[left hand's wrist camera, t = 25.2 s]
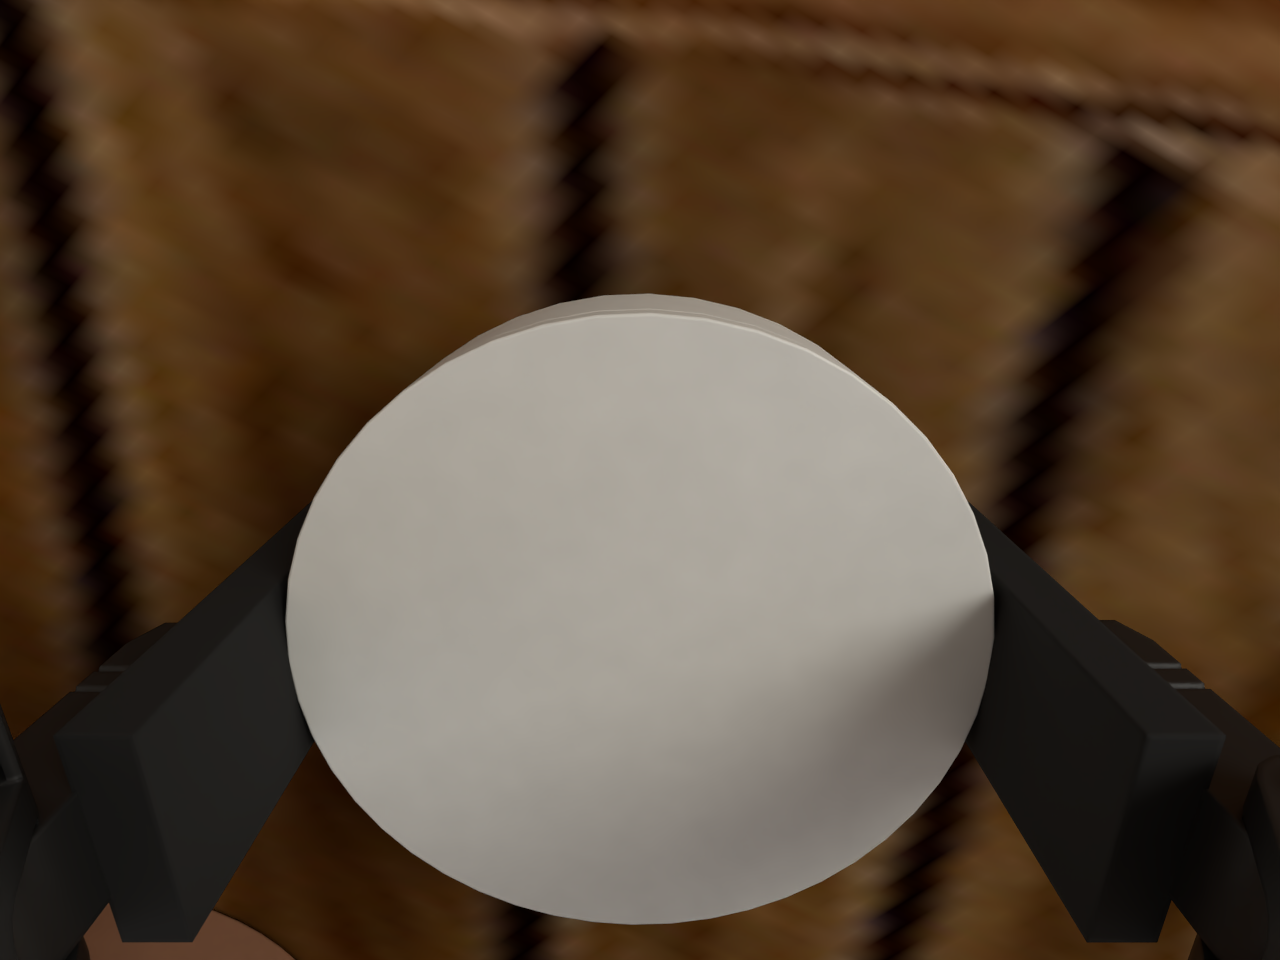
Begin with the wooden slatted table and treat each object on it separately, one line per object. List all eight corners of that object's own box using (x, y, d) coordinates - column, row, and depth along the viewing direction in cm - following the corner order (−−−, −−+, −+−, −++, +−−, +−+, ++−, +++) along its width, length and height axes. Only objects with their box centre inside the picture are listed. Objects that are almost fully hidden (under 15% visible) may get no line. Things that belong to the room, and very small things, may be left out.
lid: (1057, 606, 12) (1133, 680, 10) (630, 906, 14) (629, 1012, 13) (654, 136, 10) (657, 120, 8) (218, 587, 12) (140, 658, 10)
